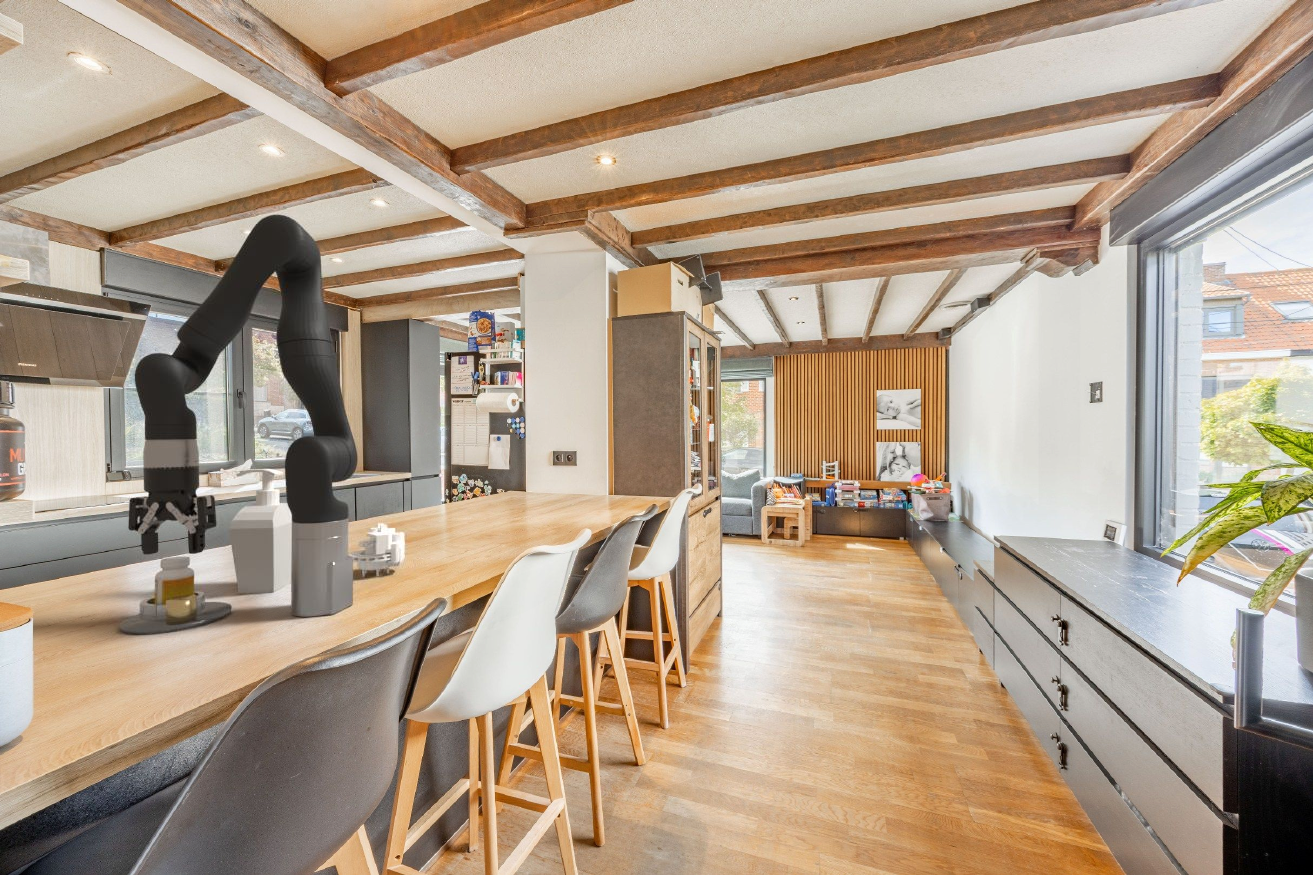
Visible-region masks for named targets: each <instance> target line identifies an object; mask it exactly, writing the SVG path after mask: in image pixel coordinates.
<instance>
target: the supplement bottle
mask: <svg viewBox="0 0 1313 875" xmlns="http://www.w3.org/2000/svg"><path fill="white" fill-rule="evenodd" d="M190 564H191V558H190V556H186V555H185V556H173V557H172V556H171V557H166V558H162V559H161V560H160V569H162V570H160V571H159V572H157V573H156V574H155V576H154V597H155V601H154V604H166V600H167V599H169V598H172V597H176V596H182V595H194V591H195V571H194V569H193V568H192V567H189V566H190Z"/></svg>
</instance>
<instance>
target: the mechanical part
mask: <svg viewBox="0 0 1313 875" xmlns="http://www.w3.org/2000/svg"><path fill="white" fill-rule="evenodd" d="M366 537H368V538H370V539H366V540H365V539H364V540H363V539H362V540H361V541H359V542H358V547H363V548H362V549H356V550H354V551H352V552H348V556H352V557H353V563H357V565H356V566H357V569H358V570H360V571H361V570H362V572H361V574H362V577H365V576H366V574H367V573H368V571H376V573H375V574H376V575H375V577H376V578H378V577H379V576H380V572H382V569H385V570H386V574H390V568H392V567H400V566H401V565H402V564H403V562H404V561H405V558H406V541H405V533H404V532H400V531H399V532H396V528H395V527H388V524H385V523H384V522H381V523H380V522H379V523H376V527H371V528H369V530H368V531H367V532H366Z"/></svg>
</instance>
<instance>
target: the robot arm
mask: <svg viewBox="0 0 1313 875" xmlns="http://www.w3.org/2000/svg"><path fill="white" fill-rule="evenodd" d="M274 273H275V275H276V278H277V280H278V286H279V290H280V295H281V310H280V316H279V318H278V323H277V327H276V334H275V335H276V346H277V353H278V359H279V364H280V368H281V371H282V374H283V376H284V378H285V380H286V382H287V383H288V385H289V386H290V388H291V389H292V390H293V392H294V394H295V395H296V396H297V398H298V399H299V401H300V402H301V403H302V405H303V406H304V408H305V410H306V411H307V413H308V416H309V419H310V423H311V427H312V432H313V435H310V436H309V435H308V436H302V437H298V438H297V439H294V440H293V441H292V443H291V444H289V447H288V448H287V451H286V455H285V458H284V459H285V460H284V476H285V477H284V478H285V492H286V494H285V495H286V496H285V497H286V503H287V504H288V507H289V509H290V511H291V514H292V553H291V583H290V584H291V585H290V593H291V594H290V595H291V596H290V597H291V599H290V600H291V604H290V613H291V614H292V615H293V616H296V617H305V618H306V617H318V616H323V615H334V614H336V613H338V612H341V611H342V610H345V609H346V608H348V607H350V606H352V605H353V604H354V562H353V557H352V556H349V512H350V511H349V510H350V509H349V506H348V503H346V502H344V501H341V500H339V499H338V498H336V496H335V495H334V491H333V484H334V483H340V482H345V481H347V480H348V479H350V478H351V477H352V476H353V475H354V473H355V472H356V470H357V466H358V459H359V458H358V452H357V446H356V442H355V439H354V436H353V431H352V429H351V425H350V422H349V419H348V415H347V412H346V411H347V410H346V407H345V402H344V400H343V399H344V398H343V394H342V387H341V384H340V378H339V371H338V365H337V357H336V351H335V347H334V342H333V337H332V332H331V327H330V322H329V317H328V312H327V308H326V304H325V300H324V293H323V292H324V291H323V278H322V276H323V274H322V257H321V250H320V248H319V245H318V243H317V242H316V240H315V239H314V238H313V236H312V235H311V234H310V233H308V231H307V230H305V228H304V227H303V226H302V225H301V224H300V223H299V222H297V221H296V220H295V219H294V218H292V217H290V216H287V215H284V214H270V215H267V216H264V217H263V218H260V220H258V222H257V223H256V224H255V225H254V226H253V228H252V229H251V231H250V232H249V233H248V235H247V237H246V239H245V240H244V242H243V244H242V245H241V247H240V249H239V250H238V252H237V254H236V255H235V257H234V258H233V260H232V262H231V263H230V264H229V266H228V268H227V270H225V273H224V274H223V275H222V277H221V279H220V280H219V281H218V283H217V284H216V286H215V287H214V289H213V290H212V291H211V293H210V294H209V295H208V296H207V297H206V299H204V301H203V302H202V303H201V304H200V305H199V307H198V308H197V309H196V310H195V311H194V312H192V314H191V315H190V316H189V317H188V318H187V320H186V321H185V322H184V323H183V324H182V325H181V326H180V328H179V329H178V331H177V332H176V336H177V339H178V340H179V341H180V342H179V343H178V345H177V347H176V348H175V349H174V351H173V352H172V353H171V354H170V353H169V354H168V353H163V352H162V353H161V352H155V353H154V352H153V353H149V354H147V355H146V356H145V355H144V356H143V358H141V359H140V360H139V362H138V363H137V365H136V368H135V371H134V385H135V389H136V393H137V396H138V400H139V403H140V406H141V409H142V411H143V415H144V445H143V452H142V453H143V455H142V456H143V458H142V459H143V460H142V461H143V462H142V464H143V470H142V471H143V490H144V491H145V493H148V495H145V496H135V497H130V498H129V503H128V507H129V508H128V530H129V531H135V532H137V533H138V534H140V538H141V539H140V541H141V542H140V545H141V546H140V547H141V549H140V550H141V551H142V554H143V555H154V554H157V553H158V552H159V532H156V531H157V530H159V528H160V527H161V525H162V524H163V523H166V521H171V522H174V521H175V522H177V521H178V522H179V524H181V525H183V526H184V527H185V528H186V529H187V531H188V532H189V533H188V554H191V555H194V554H199V553H202V552H203V551H204V550H205V547H206V531H207V530H211V529H212V528H215V527H217V513H216V512H217V511H216V499H215V496H214V495H212V494H211V495H209V494H208V495H204V496H198V495H197V490H198V489H199V487H200V454H199V446H198V437H197V436H198V433H197V432H198V431H197V430H198V428H197V417H196V413H195V412H194V411H193V410H192V409H191V408H189V406H187V405H188V404H187V401H186V400H187V398H186V395H189V394H191V393H193V392H195V391H197V390H198V389H199V388H200V387H201V386H202V385H203V384H204V383H205V382H206V381H207V379H208V377H209V376H210V374H211V373H212V370H213V368H214V367H215V365H216V363H217V361H218V358H219V356H220V355H221V353H222V352H224V350H225V349H226V348H228V346H229V345H231V343H232V342H233V340H234V339H235V338H236V337H237V336H238V335H239V333H240V332H241V331H242V330H243V328H244V327H245V325H246V324H247V322H248V319H250V315H251V313H252V310H253V308H254V305H255V302H256V300H257V297H258V295H259V293H260V291H261V289H262V287H263V286H264V285H265V283H266V282H267V281H268V280H269V279H270V277H271V276H273V274H274ZM138 520H139V521H138Z"/></svg>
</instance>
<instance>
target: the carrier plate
mask: <svg viewBox="0 0 1313 875" xmlns="http://www.w3.org/2000/svg"><path fill="white" fill-rule="evenodd" d="M154 601H155V596H152V597H148V598H145V599H144V600H142V601H140V602H139V613H137V614H135V615H132V616H130V617H127V618H126V619H124V620H122V621H121V622H120V623H119V632H121V633H122V634H125V635H133V636H134V635H136V636H141V635H142V636H143V635H144V636H145V635H160V634H166V633H167V634H168V633H174V632H180V631H185V630H190V629H194V628H198V627H202V626H206V625H208V624H211V623H214V622H215V623H216V622H217V621H220V620H222V619H224V618H226V617H228V616H229V615H230V614H231V613H232V612H233V611H232V610H233V609H232V607H233V606H232V604H231V603H228V602H221V601H206V593H205V592H202V591H197V590H194V595H182V596H176V597H172V598H169V599H167V600H166V604H154Z"/></svg>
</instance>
